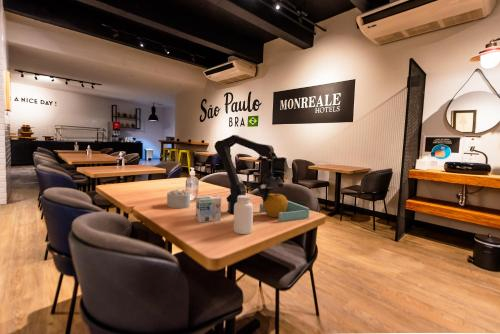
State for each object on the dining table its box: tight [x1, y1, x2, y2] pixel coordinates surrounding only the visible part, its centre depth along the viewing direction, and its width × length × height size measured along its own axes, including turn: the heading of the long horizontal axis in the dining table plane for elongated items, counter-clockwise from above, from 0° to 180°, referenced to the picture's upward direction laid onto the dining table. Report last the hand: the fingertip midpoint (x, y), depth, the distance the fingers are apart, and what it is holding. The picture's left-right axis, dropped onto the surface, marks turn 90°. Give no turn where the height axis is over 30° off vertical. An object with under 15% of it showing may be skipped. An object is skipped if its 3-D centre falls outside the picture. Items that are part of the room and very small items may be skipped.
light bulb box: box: [195, 195, 222, 223], centre depth 125 cm, size 11×7×11 cm, turn 117°
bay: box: [259, 199, 310, 223], centre depth 138 cm, size 18×20×5 cm
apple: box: [262, 193, 289, 218], centre depth 136 cm, size 13×13×11 cm
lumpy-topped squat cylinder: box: [166, 189, 191, 209], centre depth 148 cm, size 10×13×9 cm
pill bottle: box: [233, 194, 254, 235], centre depth 110 cm, size 8×8×15 cm
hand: (264, 201), depth 132 cm, fingers closed
